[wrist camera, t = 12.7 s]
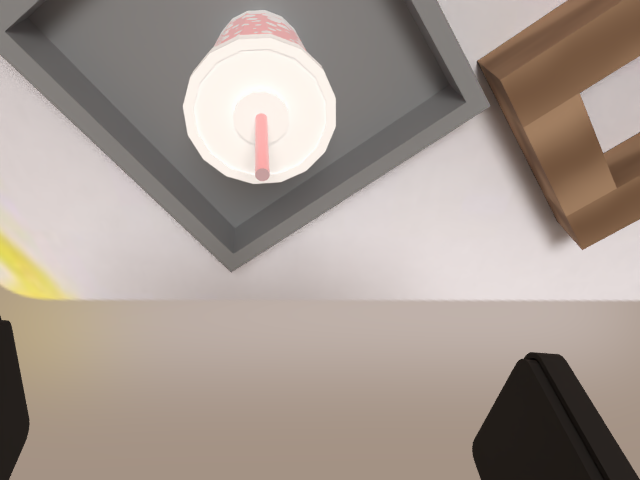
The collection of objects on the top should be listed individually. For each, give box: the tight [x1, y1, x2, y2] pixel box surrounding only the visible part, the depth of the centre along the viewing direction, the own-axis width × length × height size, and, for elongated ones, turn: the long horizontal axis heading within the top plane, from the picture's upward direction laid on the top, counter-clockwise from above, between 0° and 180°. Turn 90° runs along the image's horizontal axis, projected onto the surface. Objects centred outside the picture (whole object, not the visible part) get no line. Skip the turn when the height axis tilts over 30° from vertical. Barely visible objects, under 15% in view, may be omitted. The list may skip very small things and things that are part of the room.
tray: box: [0, 0, 490, 272], centre depth 27 cm, size 18×18×4 cm
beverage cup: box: [183, 10, 336, 184], centre depth 23 cm, size 6×6×14 cm
